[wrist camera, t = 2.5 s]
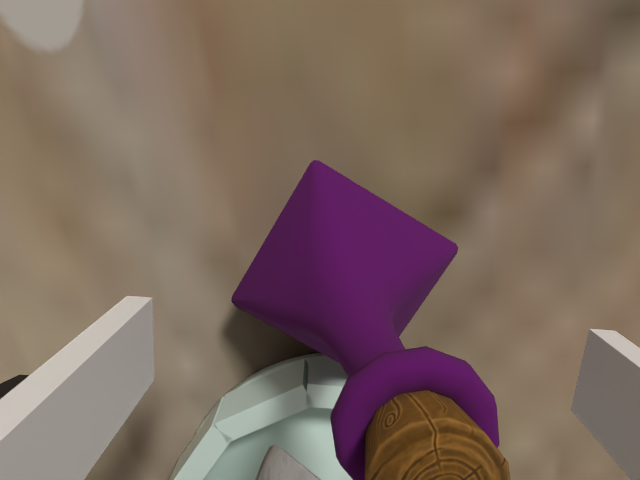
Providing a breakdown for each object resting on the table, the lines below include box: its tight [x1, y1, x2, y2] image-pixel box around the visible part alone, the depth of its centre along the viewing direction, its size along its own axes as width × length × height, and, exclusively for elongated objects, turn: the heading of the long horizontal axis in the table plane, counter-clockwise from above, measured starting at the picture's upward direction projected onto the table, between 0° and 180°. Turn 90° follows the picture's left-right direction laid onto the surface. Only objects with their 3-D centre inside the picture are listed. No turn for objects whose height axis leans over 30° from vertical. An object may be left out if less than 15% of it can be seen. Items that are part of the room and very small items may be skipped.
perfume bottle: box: [232, 160, 510, 480], centre depth 14 cm, size 8×8×18 cm
